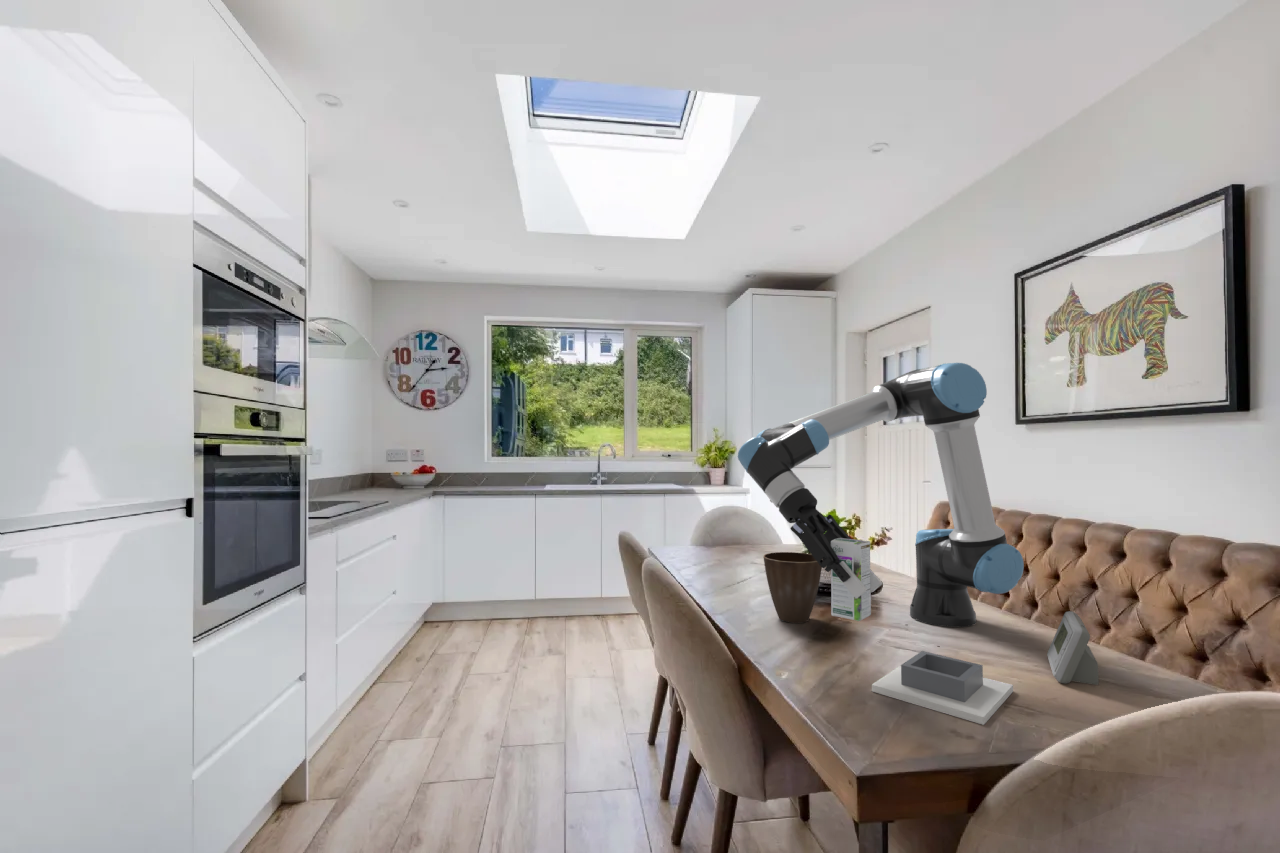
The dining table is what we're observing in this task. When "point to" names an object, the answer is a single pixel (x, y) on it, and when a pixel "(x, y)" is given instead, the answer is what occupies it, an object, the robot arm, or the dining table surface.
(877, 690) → the socket dock
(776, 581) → the plant pot
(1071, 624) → the digital clock
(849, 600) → the syrup box
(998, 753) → the dining table surface
